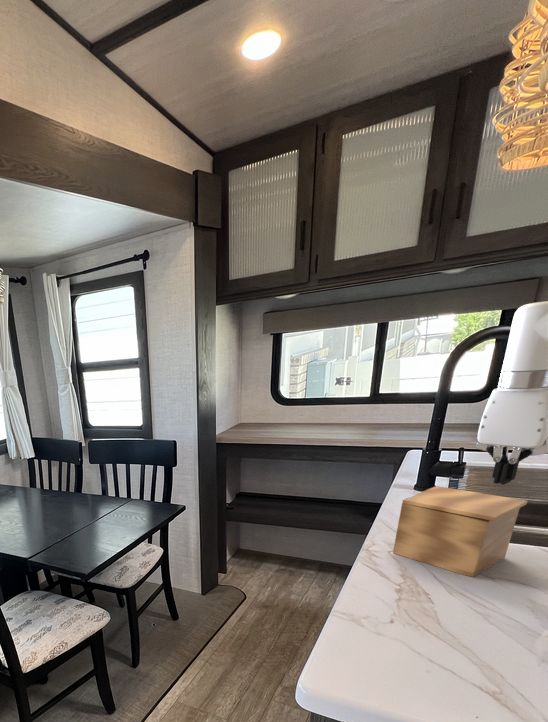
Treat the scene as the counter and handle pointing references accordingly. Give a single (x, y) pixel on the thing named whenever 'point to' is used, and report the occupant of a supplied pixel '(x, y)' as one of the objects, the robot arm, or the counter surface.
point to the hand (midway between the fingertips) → (502, 482)
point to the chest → (452, 539)
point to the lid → (465, 503)
